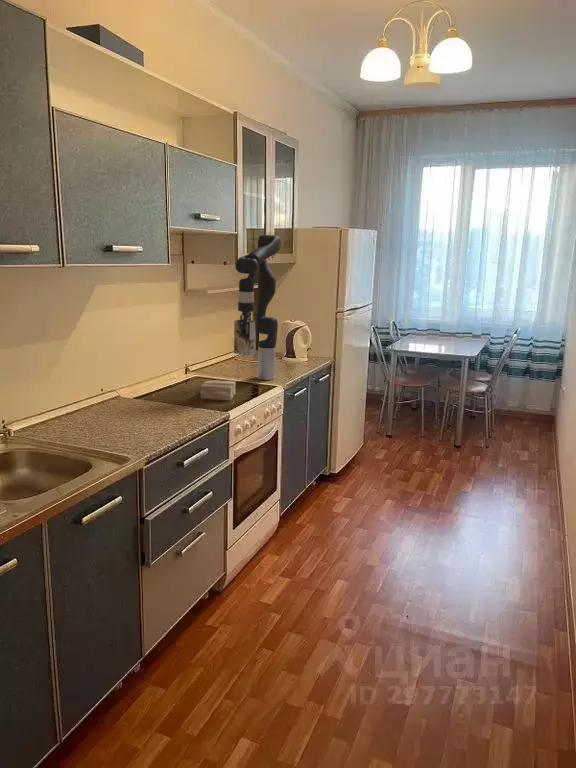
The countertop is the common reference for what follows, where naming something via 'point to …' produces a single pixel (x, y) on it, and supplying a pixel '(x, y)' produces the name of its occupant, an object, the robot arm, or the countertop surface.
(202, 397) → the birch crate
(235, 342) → the coffee box
